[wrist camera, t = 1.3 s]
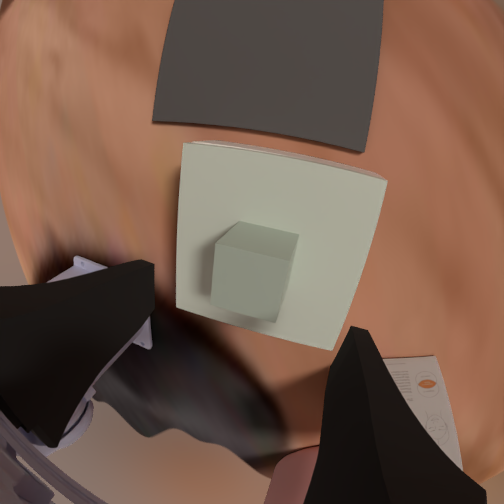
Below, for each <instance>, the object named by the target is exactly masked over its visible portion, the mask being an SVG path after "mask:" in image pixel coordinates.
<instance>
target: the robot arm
mask: <svg viewBox="0 0 504 504" xmlns="http://www.w3.org/2000/svg"><path fill="white" fill-rule="evenodd" d="M154 309H155V294H154V264H153V263H150V262H147V261H144V260H142V259H141V260H135V261H131V262H127V263H123V264H119V265H116V266H112V267H109V268H108V267H106V266H103V265H100V264H98V263H95V262H93V261H90V260H88V259H85V258H83V257H80V256H75V257H74V266H73V267H71V268H69V269H68V270H66V271H64V272H63V273H61V274H60V275H58V276H56V277H55V278H53V279H52V280H50V281H48V282H47V283H42V284H34V285H22V286H3V287H2V286H1V287H0V504H55V503H53V501H51V499H52V498H53V497H54V493H53V491H51V490H50V489H49V488H48V487H47V485H46V484H45V483H43V482H42V481H41V480H40V479H39V478H38V477H37V476H36V475H34V474H33V473H32V472H31V471H30V470H29V469H27V468H26V467H25V466H24V465H23V464H22V463H20V462H19V461H18V460H17V458H16V455H17V456H20V457H22V458H23V459H24V460H25V461H26V462H27V463H28V464H29V465H30V466H31V467H32V468H33V469H34V470H35V471H36V472H37V473H38V474H39V475H40V476H41V477H42V478H44V479H45V480H46V481H47V482H48V483H49V484H50V485H52V486H53V487H54V488H55V489H56V490H58V491H59V492H60V493H61V494H63V495H64V496H65V497H66V498H68V499H69V500H70V501H72V502H73V503H74V504H108V503H106V502H105V501H103V500H101V499H100V498H98V497H97V496H95V495H94V494H92V493H91V492H90V491H88V490H87V489H85V488H84V487H82V486H81V485H80V484H78V483H77V482H76V481H74V480H73V479H71V478H70V477H69V476H68V475H67V474H65V473H64V472H63V471H62V470H60V469H59V468H58V467H57V466H55V465H54V464H53V463H52V462H51V461H50V460H48V459H47V458H46V457H47V456H49V455H50V454H52V453H53V452H55V451H57V450H59V449H63V448H66V447H68V446H70V445H71V444H73V443H74V442H75V441H77V440H78V439H79V438H80V437H81V436H82V435H83V434H84V432H85V431H86V430H87V428H88V427H89V425H90V423H91V421H92V417H93V409H94V407H93V403H92V401H91V400H90V399H91V398H92V396H93V395H94V394H95V393H96V391H95V390H94V388H93V387H92V386H93V384H94V383H95V382H96V381H97V380H98V379H99V378H100V377H101V376H102V375H103V373H104V372H105V371H106V370H107V369H108V368H109V367H110V366H111V365H112V364H113V363H114V361H115V360H116V359H117V358H118V357H119V356H120V355H121V354H122V353H123V352H124V351H125V350H126V348H127V347H128V346H129V345H130V344H131V343H132V342H133V343H135V344H138V345H140V346H142V347H144V348H146V349H151V348H152V336H151V324H150V314H151V313H152V312H153V310H154ZM303 504H487V496H486V490H485V489H483V488H482V487H481V486H480V485H479V484H477V483H476V482H475V481H474V480H472V479H471V478H470V477H469V476H468V475H466V474H465V473H464V472H463V471H462V470H461V469H460V468H459V467H458V466H457V465H456V464H455V463H454V462H453V461H452V460H451V459H450V458H449V457H448V456H447V455H446V454H445V453H444V452H443V451H442V450H441V448H440V447H439V446H438V445H437V444H436V442H435V441H434V440H433V439H432V437H431V436H430V435H429V434H428V433H427V431H426V430H425V429H424V427H423V426H422V425H421V423H420V422H419V420H418V419H417V417H416V416H415V414H414V413H413V412H412V410H411V409H410V407H409V405H408V404H407V402H406V401H405V399H404V397H403V396H402V394H401V392H400V390H399V389H398V387H397V385H396V384H395V382H394V380H393V378H392V376H391V374H390V373H389V371H388V369H387V367H386V365H385V363H384V361H383V359H382V357H381V355H380V353H379V351H378V349H377V347H376V345H375V343H374V341H373V339H372V337H371V335H370V333H369V332H368V330H365V329H361V328H358V327H354V326H351V327H350V329H349V331H348V333H347V335H346V337H345V339H344V341H343V343H342V345H341V347H340V349H339V351H338V353H337V355H336V357H335V359H334V361H333V363H332V365H331V367H330V371H329V376H328V380H327V385H326V390H325V399H324V409H323V419H322V428H321V437H320V445H319V451H318V456H317V460H316V464H315V467H314V471H313V475H312V478H311V481H310V485H309V488H308V491H307V494H306V497H305V500H304V502H303Z"/></svg>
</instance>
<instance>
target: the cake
mask: <svg viewBox="0 0 504 504" xmlns="http://www.w3.org/2000/svg"><path fill="white" fill-rule="evenodd" d="M318 451H319V446H317V447H311V448H306V449H302V450H299V451H296V452H294V453H291V454H289V455H287V456H285V457H284V458H282V459H281V460H280V461H279V462H278V463H277V465H276V467H275V469H274V472H273V476H272V479H271V483H270V486H269V489H268V492H267V496H266V499H265V502H264V504H303V502H304V500H305V497H306V494H307V491H308V488H309V485H310V481H311V478H312V475H313V471H314V467H315V464H316V460H317V456H318Z"/></svg>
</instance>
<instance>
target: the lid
mask: <svg viewBox="0 0 504 504" xmlns="http://www.w3.org/2000/svg"><path fill="white" fill-rule="evenodd" d="M387 182H388V181H387V180H385V179H383V178H380V177H376V176H372V175H369V174H365V173H361V172H357V171H353V170H349V169H345V168H341V167H337V166H332V165H328V164H324V163H319V162H314V161H310V160H305V159H300V158H295V157H289V156H284V155H278V154H273V153H267V152H261V151H254V150H248V149H241V148H234V147H226V146H218V145H210V144H201V143H183V152H182V163H181V175H180V188H179V204H178V223H177V252H176V307H177V308H180V309H183V310H186V311H189V312H192V313H195V314H198V315H201V316H205V317H208V318H211V319H214V320H217V321H221V322H224V323H227V324H230V325H234V326H237V327H241V328H244V329H248V330H251V331H255V332H258V333H262V334H266V335H269V336H273V337H277V338H281V339H285V340H288V341H292V342H296V343H301V344H305V345H309V346H313V347H317V348H322V349H326V350H331V351H332V350H333V348H334V345H335V343H336V341H337V338H338V336H339V333H340V331H341V328H342V326H343V323H344V321H345V318H346V316H347V313H348V310H349V308H350V305H351V302H352V300H353V297H354V294H355V291H356V289H357V286H358V283H359V280H360V277H361V274H362V271H363V268H364V265H365V262H366V259H367V255H368V252H369V249H370V246H371V242H372V239H373V236H374V232H375V229H376V225H377V221H378V218H379V214H380V210H381V206H382V203H383V199H384V194H385V190H386V186H387Z"/></svg>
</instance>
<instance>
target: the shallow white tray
mask: <svg viewBox="0 0 504 504" xmlns="http://www.w3.org/2000/svg"><path fill="white" fill-rule="evenodd" d="M193 143H201V144H210V145H218V146H226V147H234V148H241V149H248V150H254V151H261V152H267V153H273V154H278V155H284V156H289V157H295V158H300V159H305V160H310V161H314V162H319V163H324V164H328V165H332V166H337V167H341V168H345V169H349V170H353V171H357V172H361V173H365V174H369V175H372V176H376V177H380V178H383V177H381V176H380V175H379V174H377V173H375V172H372V171H368V170H365V169H361V168H357V167H353V166H350V165H346V164H342V163H338V162H334V161H329V160H325V159H321V158H316V157H312V156H307V155H303V154H298V153H293V152H288V151H282V150H277V149H272V148H266V147H260V146H254V145H247V144H241V143H234V142H227V141H219V140H213V141H193ZM383 179H384V178H383ZM385 180H386V179H385Z"/></svg>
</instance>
